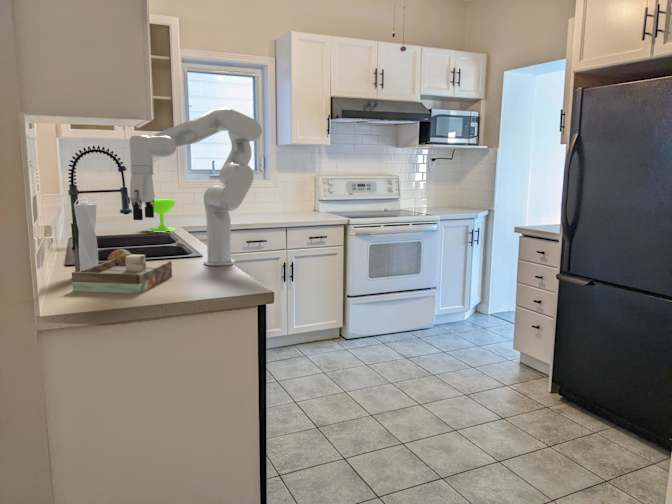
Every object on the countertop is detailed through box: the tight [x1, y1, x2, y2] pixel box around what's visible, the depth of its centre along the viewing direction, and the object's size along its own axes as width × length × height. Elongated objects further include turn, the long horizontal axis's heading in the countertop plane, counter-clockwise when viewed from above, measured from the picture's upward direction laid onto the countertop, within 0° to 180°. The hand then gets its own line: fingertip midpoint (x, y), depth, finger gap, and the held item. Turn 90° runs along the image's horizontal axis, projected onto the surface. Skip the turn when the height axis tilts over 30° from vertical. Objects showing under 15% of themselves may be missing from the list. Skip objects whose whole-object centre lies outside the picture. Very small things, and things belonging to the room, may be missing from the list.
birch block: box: [125, 254, 147, 271], centre depth 187 cm, size 5×5×5 cm
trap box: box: [71, 259, 173, 294], centre depth 180 cm, size 26×22×6 cm
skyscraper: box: [73, 196, 99, 272], centre depth 191 cm, size 8×8×28 cm
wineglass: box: [148, 198, 176, 231], centre depth 312 cm, size 16×16×18 cm
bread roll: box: [106, 248, 133, 267], centre depth 212 cm, size 10×10×8 cm
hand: (143, 218), depth 193 cm, fingers open, 8 cm apart
